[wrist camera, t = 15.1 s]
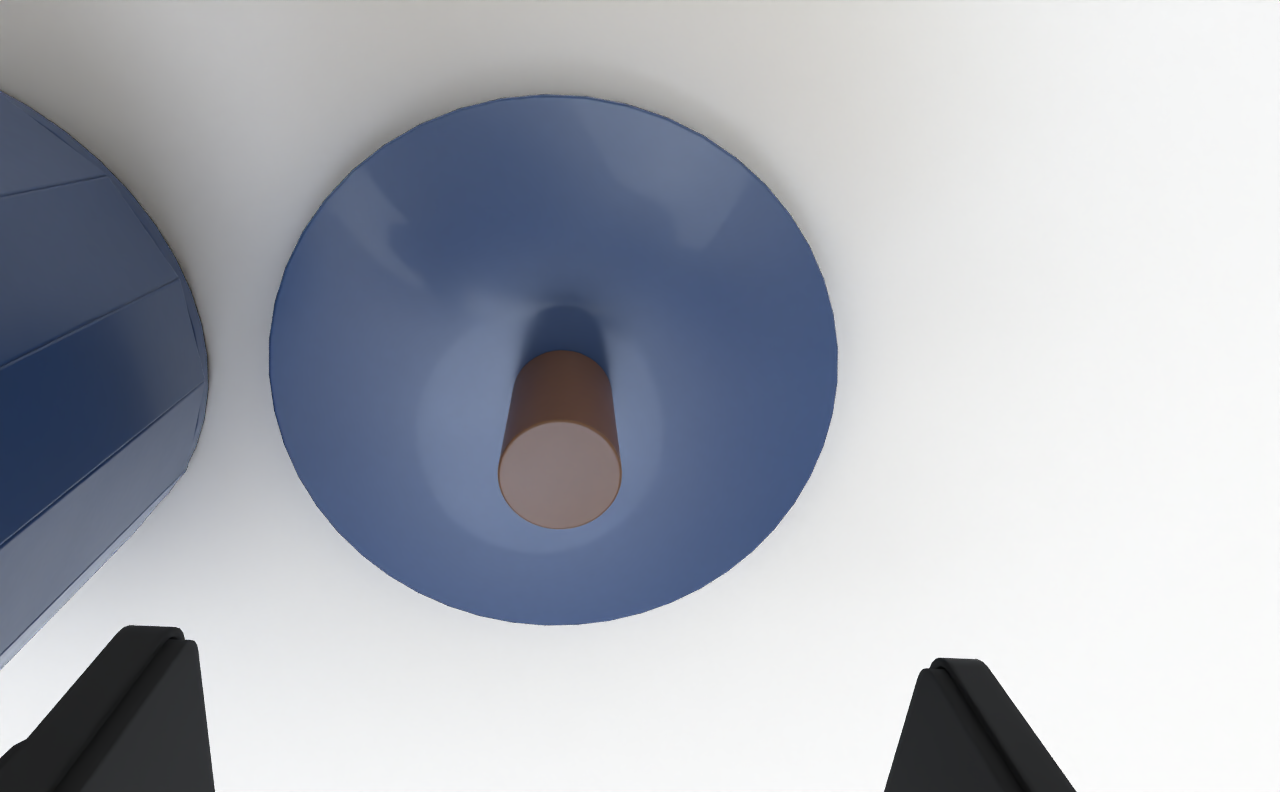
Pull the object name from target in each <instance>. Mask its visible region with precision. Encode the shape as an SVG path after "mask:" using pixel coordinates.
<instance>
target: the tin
mask: <svg viewBox="0 0 1280 792" xmlns="http://www.w3.org/2000/svg"><path fill="white" fill-rule="evenodd" d="M207 394H208V367H207V353H206V347H205V341H204V336H203V330H202V325H201V321H200V318H199V315H198V312H197V309H196V306H195V302H194V299H193V296H192V293H191V290H190V288H189V286H188V284H187V282H186V279H185V277H184V275H183V273H182V271H181V269H180V266H179V264H178V262H177V260H176V258H175V256H174V255H173V253H172V251H171V250H170V248H169V246H168V245H167V243H166V241H165V240H164V238H163V237H162V235H161V233H160V232H159V230H158V228H157V227H156V225H155V224H154V222H153V221H152V220H151V219H150V217H149V216H148V215H147V213H146V212H145V211H144V209H143V208H142V207H141V206H140V204H139V203H138V202H137V200H136V199H135V198H134V197H133V195H132V194H131V193H130V192H129V190H128V189H127V188H126V187H125V186H124V185H123V184H122V183H121V182H120V181H119V180H118V179H117V178H116V177H115V176H114V175H113V174H112V173H111V172H110V171H109V170H108V169H107V168H106V167H105V166H104V164H103V163H102V162H101V161H100V160H98V159H97V158H96V157H95V156H94V155H93V154H91V153H90V152H89V151H88V150H87V149H85V148H84V147H83V146H82V145H81V144H80V143H78V142H77V141H76V140H75V139H74V138H72V137H71V136H70V135H69V134H68V133H66V132H65V131H64V130H62V129H61V128H59V127H58V126H56V125H55V124H54V123H52V122H51V121H49V120H48V119H46V118H45V117H43V116H42V115H40V114H39V113H37V112H36V111H35V110H33V109H32V108H30V107H29V106H27V105H25V104H24V103H22V102H20V101H18V100H16V99H14V98H13V97H11V96H9V95H7V94H5V93H3V92H2V91H0V670H1V669H2V668H3V667H4V666H5V665H6V664H7V663H8V662H9V661H10V660H11V659H12V658H13V657H14V656H15V655H16V654H17V653H18V652H19V651H20V650H21V648H22V647H23V646H24V645H25V644H26V643H27V642H28V641H29V640H30V639H31V638H32V637H33V636H34V635H35V634H36V633H37V632H38V631H39V630H40V629H41V628H42V627H43V626H44V625H45V624H46V623H47V622H48V621H49V620H50V619H51V618H52V617H53V616H54V615H55V614H56V613H57V612H58V611H59V609H60V608H61V607H62V606H63V605H64V604H65V603H66V602H67V601H68V600H69V599H70V598H71V597H72V596H73V595H74V594H75V593H76V592H77V591H78V590H79V589H80V588H81V587H82V586H83V585H84V584H85V583H86V582H87V581H88V580H89V579H90V578H91V577H92V576H93V575H94V574H95V573H96V571H97V570H98V569H99V568H100V567H101V566H102V565H103V564H104V563H105V562H106V561H107V560H108V559H109V558H110V557H111V556H112V555H113V554H114V553H115V552H116V551H117V550H118V549H119V548H120V547H121V546H122V545H123V544H124V543H125V542H126V541H127V540H128V539H129V538H130V537H131V536H132V535H133V534H134V532H135V531H136V530H137V529H138V528H139V526H140V525H141V524H142V523H143V522H144V520H145V519H146V518H147V517H148V516H149V514H150V513H151V512H152V511H153V510H154V508H155V507H156V506H157V505H158V504H159V503H160V501H161V500H162V499H163V498H164V497H165V496H166V495H167V494H168V493H169V492H170V490H171V489H172V488H173V486H174V485H175V483H176V482H177V481H178V480H179V479H180V477H181V476H182V475H183V474H184V473H185V471H186V470H187V467H188V462H189V460H190V458H191V456H192V454H193V452H194V450H195V448H196V445H197V442H198V439H199V435H200V432H201V428H202V425H203V422H204V418H205V410H206V402H207Z"/></svg>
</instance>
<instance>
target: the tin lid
mask: <svg viewBox="0 0 1280 792" xmlns="http://www.w3.org/2000/svg"><path fill="white" fill-rule="evenodd" d="M837 370H838V346H837V338H836V330H835V322H834V315H833V310H832V307H831V303H830V299H829V296H828V292H827V288H826V285H825V281H824V278H823V276H822V273H821V271H820V269H819V267H818V264H817V262H816V260H815V257H814V255H813V253H812V250H811V248H810V246H809V244H808V243H807V241H806V239H805V238H804V236H803V234H802V233H801V231H800V229H799V228H798V226H797V225H796V223H795V221H794V220H793V218H792V216H791V215H790V213H789V212H788V211H787V210H786V209H785V207H784V206H783V205H782V204H781V202H780V201H779V200H778V199H777V198H776V196H775V195H774V194H773V193H772V192H771V190H770V189H769V188H768V187H767V186H766V184H764V183H763V182H762V181H761V180H760V179H759V178H758V177H757V176H756V175H755V174H754V173H752V172H751V171H750V170H749V169H748V168H747V167H746V166H745V165H744V164H743V163H742V162H740V161H739V160H738V159H737V158H736V157H734V156H733V155H731V154H730V153H728V152H727V151H726V150H724V149H723V148H721V147H720V146H718V145H717V144H715V143H714V142H712V141H711V140H709V139H708V138H707V137H705V136H704V135H702V134H700V133H698V132H696V131H694V130H692V129H690V128H688V127H686V126H684V125H682V124H679V123H677V122H675V121H673V120H671V119H669V118H667V117H665V116H662V115H659V114H656V113H653V112H650V111H647V110H644V109H641V108H638V107H635V106H632V105H629V104H626V103H620V102H615V101H610V100H604V99H599V98H593V97H588V96H574V95H552V94H540V95H530V96H519V97H509V98H500V99H496V100H492V101H488V102H484V103H480V104H475V105H471V106H467V107H463V108H459V109H457V110H454V111H452V112H449V113H447V114H444V115H441V116H439V117H436V118H434V119H431V120H429V121H426V122H424V123H421V124H419V125H418V126H416V127H414V128H412V129H411V130H409V131H407V132H405V133H404V134H402V135H400V136H398V137H397V138H395V139H393V140H392V141H390V142H388V143H386V144H385V145H383V146H382V147H381V148H379V149H378V150H377V151H376V152H374V153H373V154H372V155H371V156H369V157H368V158H367V159H366V160H364V161H363V162H362V163H361V164H359V165H358V166H357V167H355V168H354V169H353V170H352V171H351V172H350V173H349V174H348V175H347V176H346V177H345V178H344V179H343V180H342V182H341V183H340V184H339V185H338V186H337V187H336V188H335V189H334V190H333V191H332V192H331V193H330V194H329V195H328V196H327V198H326V199H325V200H324V201H323V203H322V204H321V206H320V207H319V209H318V210H317V211H316V213H315V214H314V216H313V217H312V219H311V220H310V222H309V223H308V225H307V226H306V227H305V229H304V230H303V232H302V234H301V236H300V238H299V240H298V242H297V244H296V246H295V248H294V250H293V252H292V255H291V257H290V259H289V261H288V263H287V265H286V267H285V271H284V274H283V277H282V280H281V283H280V287H279V290H278V293H277V296H276V300H275V304H274V310H273V317H272V323H271V330H270V337H269V378H270V385H271V392H272V399H273V405H274V411H275V415H276V418H277V422H278V425H279V429H280V432H281V435H282V439H283V442H284V445H285V448H286V450H287V452H288V454H289V457H290V459H291V461H292V463H293V465H294V468H295V470H296V472H297V474H298V477H299V478H300V480H301V481H302V483H303V485H304V486H305V488H306V489H307V491H308V493H309V494H310V496H311V498H312V499H313V501H314V502H315V504H316V506H317V507H318V508H319V509H320V511H321V512H322V513H323V514H324V515H325V517H326V518H327V519H328V520H329V522H330V523H331V524H332V525H333V527H334V528H335V529H336V530H337V531H338V533H339V534H341V535H342V536H343V537H344V538H345V539H346V540H347V541H348V542H349V543H350V544H351V545H352V546H353V547H354V548H355V549H356V550H357V551H358V552H359V553H360V554H361V555H362V556H364V557H365V558H366V559H368V560H369V561H370V562H372V563H373V564H374V565H376V566H377V567H378V568H380V569H381V570H382V571H384V572H385V573H386V574H388V575H389V576H391V577H392V578H394V579H396V580H397V581H399V582H401V583H403V584H404V585H406V586H408V587H409V588H411V589H413V590H414V591H416V592H418V593H420V594H422V595H425V596H427V597H429V598H431V599H434V600H436V601H438V602H440V603H443V604H445V605H447V606H450V607H453V608H456V609H459V610H463V611H466V612H469V613H472V614H475V615H478V616H483V617H488V618H493V619H498V620H503V621H508V622H513V623H524V624H535V625H580V624H588V623H596V622H604V621H611V620H615V619H619V618H623V617H628V616H632V615H636V614H640V613H643V612H646V611H649V610H652V609H655V608H658V607H660V606H663V605H666V604H669V603H672V602H674V601H676V600H678V599H680V598H682V597H684V596H686V595H688V594H690V593H692V592H694V591H696V590H699V589H700V588H702V587H704V586H705V585H707V584H708V583H710V582H712V581H713V580H715V579H716V578H718V577H720V576H721V575H723V574H724V573H726V572H727V571H729V570H730V569H731V568H732V567H734V566H735V565H736V564H737V563H739V562H740V561H741V560H742V559H744V558H745V557H746V556H747V555H749V554H750V553H751V552H752V551H753V550H754V549H755V548H756V547H757V546H758V545H759V544H760V543H761V542H762V541H763V540H764V539H765V538H766V537H767V536H768V535H769V534H770V533H771V532H772V531H773V530H774V529H775V528H776V526H777V525H778V524H779V523H780V521H781V520H782V519H783V517H784V516H785V515H786V514H787V512H788V511H789V510H790V508H791V507H792V506H793V505H794V503H795V501H796V500H797V498H798V496H799V495H800V493H801V491H802V490H803V488H804V486H805V485H806V483H807V481H808V480H809V478H810V476H811V474H812V471H813V469H814V467H815V465H816V462H817V460H818V458H819V455H820V453H821V451H822V448H823V446H824V442H825V439H826V435H827V432H828V429H829V425H830V422H831V418H832V414H833V408H834V401H835V394H836V387H837Z"/></svg>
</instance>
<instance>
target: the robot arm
mask: <svg viewBox="0 0 1280 792" xmlns="http://www.w3.org/2000/svg"><path fill="white" fill-rule="evenodd" d="M0 792H215V789H214V780H213V772H212V763H211V755H210V746H209V738H208V729H207V721H206V712H205V704H204V695H203V687H202V678H201V670H200V661H199V653H198V647H197V644H196V643H195V641H193V640H185V638H184V634H183V632H182V631H181V629H180V628H177V627H159V626H134V625H129V626H126V627H123V628H122V629H121V630H120V631H119V632H118V633H117V634H116V635H115V636H114V637H113V639H112V640H111V641H110V642H109V643H108V645H107V646H106V647H105V648H104V649H103V650H102V652H101V653H100V654H99V655H98V656H97V657H96V659H95V660H94V661H93V662H92V663H91V664H90V666H89V667H88V668H87V669H86V670H85V671H84V673H83V674H82V675H81V676H80V677H79V678H78V680H77V681H76V682H75V683H74V684H73V685H72V687H71V688H70V689H69V690H68V691H67V693H66V694H65V695H64V696H63V697H62V698H61V700H60V701H59V702H58V703H57V704H56V705H55V707H54V708H53V709H52V710H51V711H50V712H49V714H48V715H47V716H46V717H45V718H44V719H43V721H42V722H41V723H40V724H39V725H38V726H37V728H36V729H35V730H34V731H33V732H32V733H31V735H30V736H29V737H28V738H27V739H26V740H24V741H22V742H20V743H18V744H16V745H14V746H13V747H12V748H11V749H9V750H8V751H7V752H6V753H5V754H4V755H3V756H2V757H1V758H0ZM884 792H1076V791H1075V789H1074V788H1073V786H1072V785H1071V784H1070V782H1069V781H1068V779H1067V778H1066V776H1065V775H1064V774H1063V772H1062V771H1061V769H1060V768H1059V767H1058V765H1057V764H1056V762H1055V761H1054V760H1053V758H1052V757H1051V755H1050V754H1049V753H1048V751H1047V750H1046V748H1045V747H1044V745H1043V744H1042V743H1041V741H1040V740H1039V738H1038V737H1037V736H1036V734H1035V733H1034V731H1033V730H1032V729H1031V727H1030V726H1029V724H1028V723H1027V722H1026V720H1025V719H1024V717H1023V716H1022V714H1021V713H1020V712H1019V710H1018V709H1017V707H1016V706H1015V705H1014V703H1013V702H1012V700H1011V699H1010V698H1009V696H1008V695H1007V693H1006V692H1005V691H1004V689H1003V688H1002V686H1001V685H1000V683H999V682H998V681H997V679H996V678H995V676H994V675H993V674H992V672H991V671H990V669H989V668H988V667H987V666H986V665H985V664H984V663H983V662H982V661H980V660H978V659H956V658H937V659H935V660H934V661H933V662H932V664H931V666H930V668H929V669H928V668H926V669H923V670H922V671H921V672H920V673H919V676H918V679H917V682H916V685H915V689H914V692H913V696H912V699H911V702H910V706H909V709H908V712H907V716H906V719H905V723H904V726H903V729H902V733H901V736H900V740H899V743H898V746H897V750H896V753H895V757H894V760H893V763H892V767H891V770H890V773H889V777H888V780H887V784H886V787H885V790H884Z"/></svg>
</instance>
